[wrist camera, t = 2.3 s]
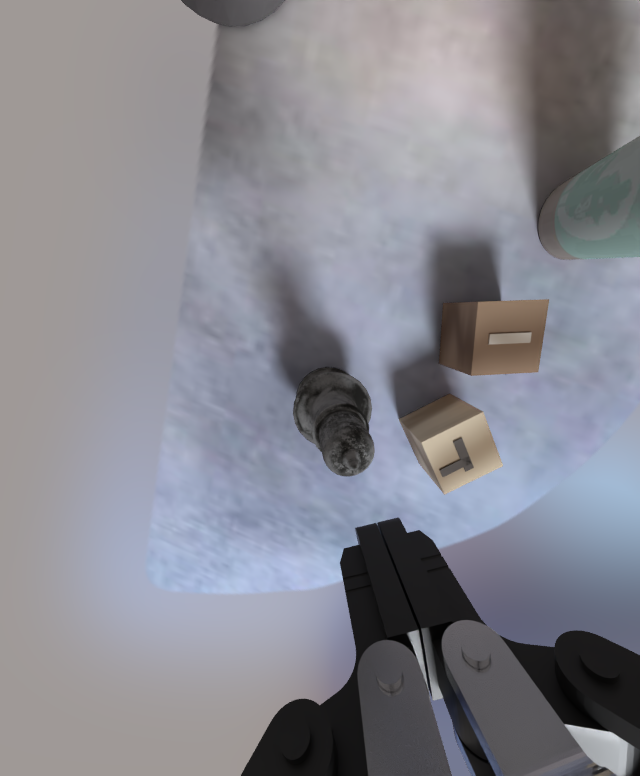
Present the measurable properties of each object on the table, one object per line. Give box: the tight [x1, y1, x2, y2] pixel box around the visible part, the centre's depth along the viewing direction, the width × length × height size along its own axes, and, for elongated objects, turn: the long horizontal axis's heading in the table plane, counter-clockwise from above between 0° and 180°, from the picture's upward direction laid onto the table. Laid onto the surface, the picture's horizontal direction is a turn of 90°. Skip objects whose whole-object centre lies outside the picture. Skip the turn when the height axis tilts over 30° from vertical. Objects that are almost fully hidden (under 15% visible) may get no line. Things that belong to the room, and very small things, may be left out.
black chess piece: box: [293, 367, 375, 476], centre depth 20 cm, size 6×6×12 cm
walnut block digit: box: [439, 299, 549, 376], centre depth 23 cm, size 5×5×5 cm
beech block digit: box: [399, 394, 503, 495], centre depth 25 cm, size 5×5×5 cm
